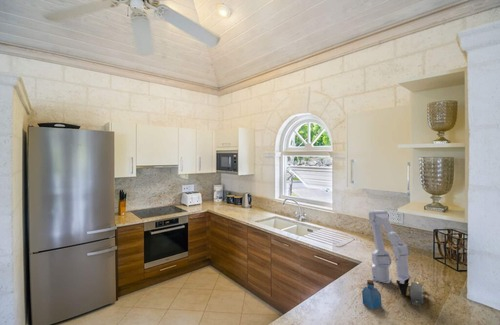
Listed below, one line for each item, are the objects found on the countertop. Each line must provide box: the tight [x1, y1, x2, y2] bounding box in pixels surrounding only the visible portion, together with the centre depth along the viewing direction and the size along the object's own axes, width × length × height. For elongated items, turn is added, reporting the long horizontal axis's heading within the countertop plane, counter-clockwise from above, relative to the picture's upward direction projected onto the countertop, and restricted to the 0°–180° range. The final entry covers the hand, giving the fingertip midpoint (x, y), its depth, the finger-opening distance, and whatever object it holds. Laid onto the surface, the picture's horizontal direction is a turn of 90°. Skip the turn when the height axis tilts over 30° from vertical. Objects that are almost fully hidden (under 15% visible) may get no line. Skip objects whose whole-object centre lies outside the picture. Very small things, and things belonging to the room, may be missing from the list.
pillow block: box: [410, 281, 424, 307], centre depth 127 cm, size 5×16×6 cm, turn 142°
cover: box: [414, 280, 426, 294], centre depth 135 cm, size 5×5×4 cm
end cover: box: [399, 285, 411, 297], centre depth 129 cm, size 9×5×5 cm, turn 52°
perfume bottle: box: [361, 279, 382, 310], centre depth 124 cm, size 6×6×12 cm
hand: (404, 291), depth 130 cm, fingers open, 7 cm apart
